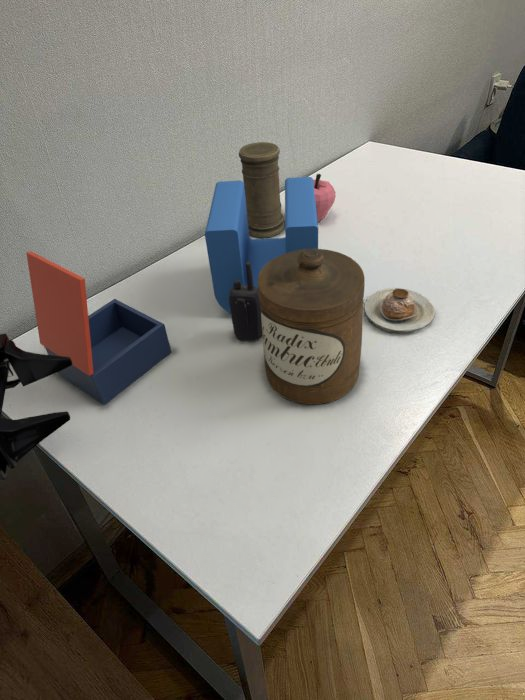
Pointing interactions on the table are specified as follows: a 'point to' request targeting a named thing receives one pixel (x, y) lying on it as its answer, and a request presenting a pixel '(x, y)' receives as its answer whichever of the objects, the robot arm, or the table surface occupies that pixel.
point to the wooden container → (312, 324)
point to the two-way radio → (246, 309)
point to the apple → (323, 196)
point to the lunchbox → (119, 350)
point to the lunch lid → (61, 311)
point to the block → (238, 248)
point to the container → (262, 188)
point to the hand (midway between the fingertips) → (70, 386)
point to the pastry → (399, 310)
